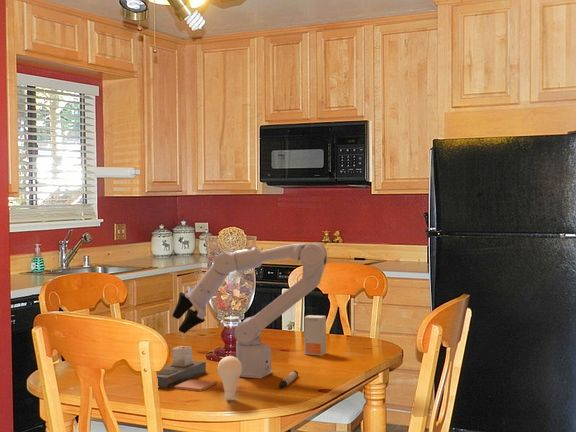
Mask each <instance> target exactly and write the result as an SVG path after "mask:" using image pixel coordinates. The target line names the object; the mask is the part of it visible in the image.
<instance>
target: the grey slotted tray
mask: <svg viewBox="0 0 576 432" xmlns="http://www.w3.org/2000/svg"><path fill="white" fill-rule="evenodd" d="M206 365H207V362H206V361H201V360H192V366H189V367H187V368H181V367H173V362H172V363H170V364H167V365H165V367H164V366H163V367H164V369H163V370H161V371H159V372H157V378H158V386H159V388H158V389H166V390H168V389H170V388H172V387H174V386H176V385H178V384H181V383H183V382H185V381H188V380H190V379H193V378H196V377H198V376H200V375H203V374H206V373H207V366H206Z"/></svg>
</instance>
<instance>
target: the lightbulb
mask: <svg viewBox="0 0 576 432" xmlns="http://www.w3.org/2000/svg"><path fill="white" fill-rule="evenodd" d="M216 371H217V373H218V376H219V378H220V379H221V382H222V385H223V390H224V397H225V399H227V400H228V401H233V400H234V399H236V393H237V392H236V390H237V388H238V387H237V385H238V381H239V379H240V375H241V372H242V365H241V362H240V361H239V360H238V359H237V358H236V356H233V355H229V356H227V355H226V356H224V357H223V358H222V359H221V358H220V360H219V362H218V365H217V370H216Z"/></svg>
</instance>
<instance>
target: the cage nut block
mask: <svg viewBox="0 0 576 432" xmlns="http://www.w3.org/2000/svg"><path fill="white" fill-rule="evenodd" d="M171 349H172V352H171V353H172V363H173V367H181V368H187V367H189V366H192V361H193V347H192V346H188V345H187V346H184V345H178V346H175V347H173V348H171Z"/></svg>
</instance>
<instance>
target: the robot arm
mask: <svg viewBox="0 0 576 432" xmlns="http://www.w3.org/2000/svg"><path fill="white" fill-rule="evenodd" d="M286 258H287V259H288V258H289V259H292V260H294V261H297V262H299V261H301V265H302V278H301V279H299V280H298V281H297V282H295V283H294V284H293V285H291V286H290V287H289V288H288V289H286V291H284V292H283V293H281V294H280V295H279V296H278V297H276V298H275V299H274V300H273V301H271V302H270V303H269V304H268V305H266V306H264V308H262V309H261V310H259V312H257V313H256V314H255V315H253V316H249V317H246V318H245V319H243V321H241V322H239V323H238V324H236V326H235V328H234V330H233V333H234V338H235V340H236V341H235V347H236V348H235V350H236V351H235V352H236V354H235V355H236V356H235V357H236V358H237V359H238V360H239V361H240V362H241V365H242V372H241V375H240V377H241V378H251V379H263V378H265V377H266V376H269V375H270V374H272V373H273V370H272V348H271V346H270V345H269V344H265V343H262V340H263V339H261V337H260V336H261V335H262V332H263V331H264V329H265V328H266V327H267V326H269V325H271V324H272V323H273V322H274V321H275V320H277V319H278V318H279V317H280V316H281V315H283V314H284V313H286V312H287V311H288V310H289V309H291V308H292V307H293V306H294V305H296V304H297V303H298V302H300V301H301V300H302V299H303V298H304V297H306V296H307V295H309V294H310V293H311V292H312V291H314V290H315V289H316V288H317V287H318V286H319V285H320V283H321V281H322V278H323V274H324V273H325V272H324V271H325V268H326V265H327V262H328V253H327V247H325V245H324V244H323V243H321V242H318V241H313V242H310V243H309V242H298V243H290V244H288V245H287V244H286V245H282V246H277V247H273V248H270V249H269V248H267V249H264V250H263V249H259V248H258V247H256V246H252V245H248V246H246V248H244V249H238V250H235V249H231V250H230V252H229V251H228V252H227V251H226V252H222V253H220V254H218V255H217V256H215V258H214V260H213V263H212V265H211V266H210V267H209V269H207V270H206V271H205V272H204V274H203V276H202V277H200V279H199V280H198V282H197V283H196V284H195V286H194V287H191V286H190V285H188V286H187V287H186V289H184V292H180V293H179V295H178V300H177V304H176V305H175V309H174V311H173V313H172V318H174V319H177V320H180V318H182V317H183V316H184V314H185V313H186V315H185V318H184V319H183V321H182V323H181V324H180V326H179V327H178V331H179V332H180V333H183V334H186V333H187V332H189V331H190V330H191V329H192V328H194V327H196V326H197V325H199V324H201V323H204V322H205V321H206V316H207V315H208V314H207V305H208V303H209V302H210V300H211V299H212V298H213V297H214V295H215V294H216V293H217V291H218V290H219V289H220V287H221V286H222V285H223V284H224V283H225V281H226V279H227V277H228V276H229V275H230V273H233V272H235V271H237V272H240V271H245V270H251V269H256V268H257V269H258V268H260V267H261V266H262V264H263V263H264V262H269V261H275V260H281V259H286ZM192 307H193V308H194V309H191V308H192ZM240 377H239V378H240Z"/></svg>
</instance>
